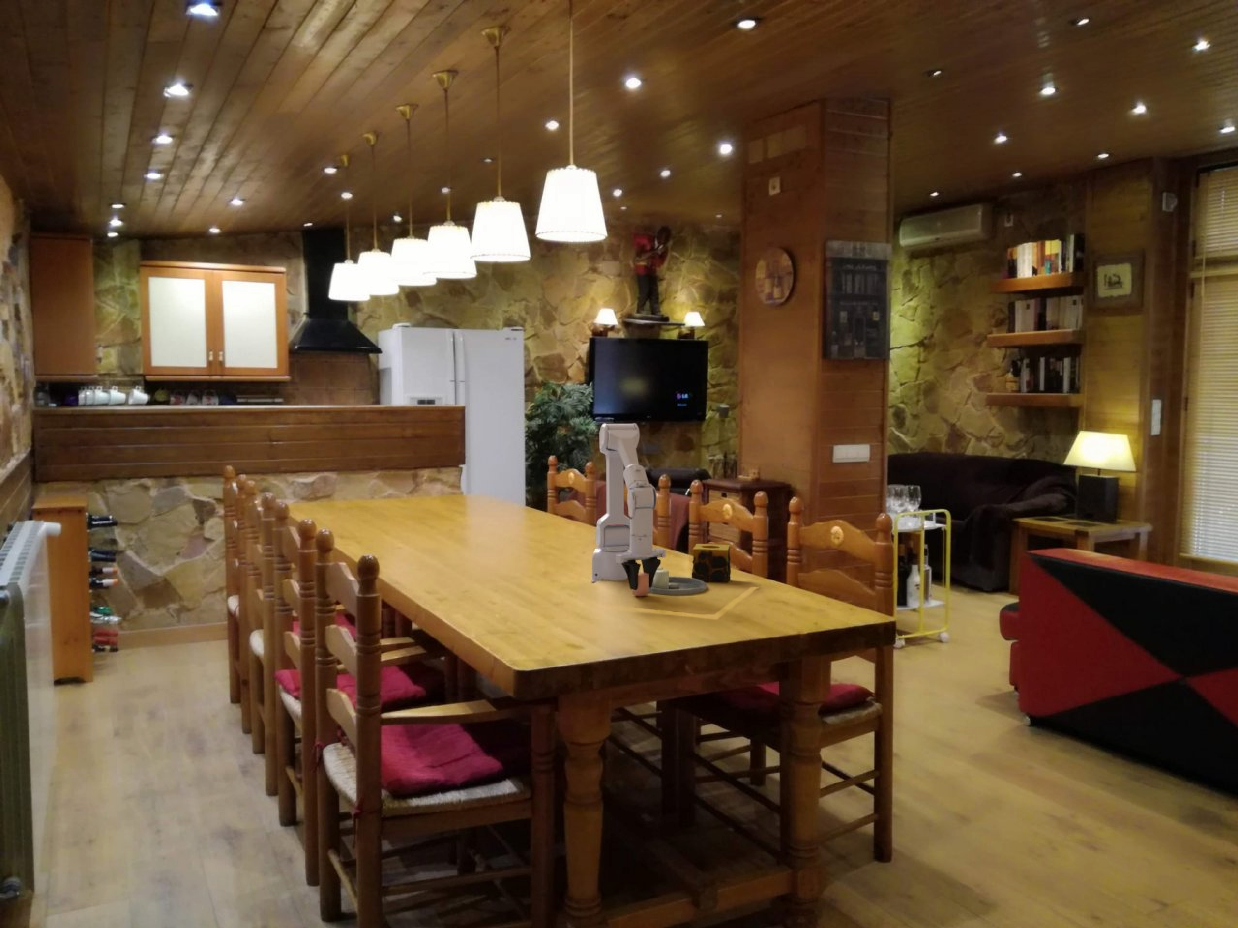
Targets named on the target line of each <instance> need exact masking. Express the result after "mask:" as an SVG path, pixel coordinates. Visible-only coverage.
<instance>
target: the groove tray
mask: <svg viewBox="0 0 1238 928" xmlns="http://www.w3.org/2000/svg"><path fill="white" fill-rule="evenodd" d="M707 588H708V584H707V582H704V581H702V580H698V579H694V578H692V577H684V576H669V589H659V588H653V587H651V588H649V594H654V595H655V594H656V595H664V596H685V595H686V596H688V595H695V594H700V593H703V592H704V591H706V590H707Z"/></svg>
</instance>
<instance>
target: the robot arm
mask: <svg viewBox="0 0 1238 928" xmlns="http://www.w3.org/2000/svg"><path fill="white" fill-rule="evenodd" d="M598 435H599V441H598V442H599V445H598V446H599V453H601V454H603V455H605V461H606V463H605V464H606V465H605V467H606V471H605V474H606V480H605V482H606V485H605V486H606V487H605V488H606V493H605V494H606V513H605V514H604V515H602V516H601V518H598V520H597V522H596V528H595V529H596V530H595V534H594V535H595V544H596V546H597V548H595V550H594V551H593V553H592V557H591V558H592V559H591V580H590V582H591V583H596V582H598V581H601V580H604V581H605V580H606V581H613V582H614V581H617V582H618V581H625V580H628V584H629V589H630V590H632V591H633V590H637V588H638V575H639V573H640V569H641V566H642V570H643V572H642V573H647V574H649V588H651V586H652V582H653V579H654V575H655V573H656V571H657V569H658V567H659V566H660V565H661V560H662V559H659V558H666V556H667V553H666V551H667V550H666V549H665V548H655V549H654V548H653V546H654V545H653V541H654V540H653V539H654V538H653V536H654V535H653V534H654V533H653V532H654V529H653V527H654V510H655V509H656V507H657V504H658V503H657V502H658V499H657V498H658V497H657V491H656V488H655V487H654V486H653V485H652V483H650V482H649V479H648V476H647V473H646V472H647V471H646V470H645V467H644V466H643V465H642V464H639V460H638V453H637V448H638V444H639V441H640V435H641V434H640V428H639V426H638V424H637V423H602V424H601V426H600V430H599V434H598ZM624 483H625V486H626V491H627V496H626V503H627V508H628V509H627V510H628V511H627V512H628V516H627V515H625V511H624V509H625V508H624V507H625V505H624V504H625V503H624V496H625V495H624V494H625V493H624V491H625V490H624V488H625V487H624ZM637 561H641V563H638V562H637Z"/></svg>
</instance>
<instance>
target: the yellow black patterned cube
mask: <svg viewBox="0 0 1238 928" xmlns="http://www.w3.org/2000/svg"><path fill="white" fill-rule="evenodd" d="M692 557H693V558H692V561H691V563H692V570H691V578H694V579H698V580H702V581H704V582H705V583H722V584H728V583H729V582H730V581H731V580H732V579H731V578H732V577H731V575H732V574H731V573H732V569H731V545H730V544H720V543H719V544H714V543H712V544H710V543H696V544H695V545H694V547H693V548H692Z"/></svg>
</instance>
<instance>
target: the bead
mask: <svg viewBox="0 0 1238 928" xmlns="http://www.w3.org/2000/svg"><path fill="white" fill-rule="evenodd" d="M649 594H650V593H649V574H647V573H644V572H639V575H638V588H637V590H633V589H632V595H634V596H639V597H640V596H641V597H643V596H648V595H649Z"/></svg>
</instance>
